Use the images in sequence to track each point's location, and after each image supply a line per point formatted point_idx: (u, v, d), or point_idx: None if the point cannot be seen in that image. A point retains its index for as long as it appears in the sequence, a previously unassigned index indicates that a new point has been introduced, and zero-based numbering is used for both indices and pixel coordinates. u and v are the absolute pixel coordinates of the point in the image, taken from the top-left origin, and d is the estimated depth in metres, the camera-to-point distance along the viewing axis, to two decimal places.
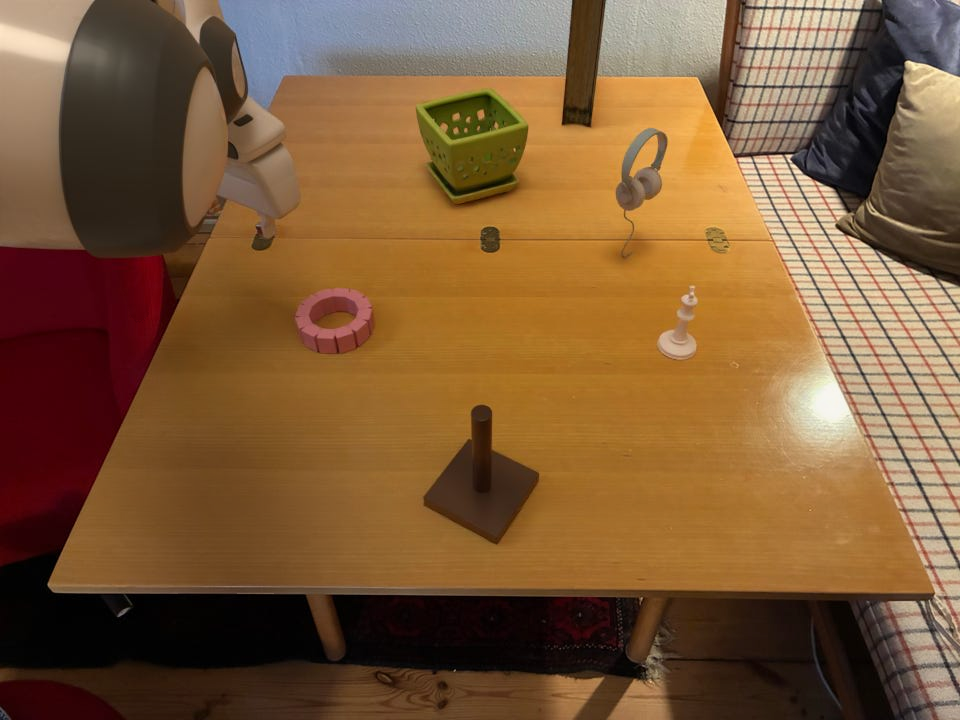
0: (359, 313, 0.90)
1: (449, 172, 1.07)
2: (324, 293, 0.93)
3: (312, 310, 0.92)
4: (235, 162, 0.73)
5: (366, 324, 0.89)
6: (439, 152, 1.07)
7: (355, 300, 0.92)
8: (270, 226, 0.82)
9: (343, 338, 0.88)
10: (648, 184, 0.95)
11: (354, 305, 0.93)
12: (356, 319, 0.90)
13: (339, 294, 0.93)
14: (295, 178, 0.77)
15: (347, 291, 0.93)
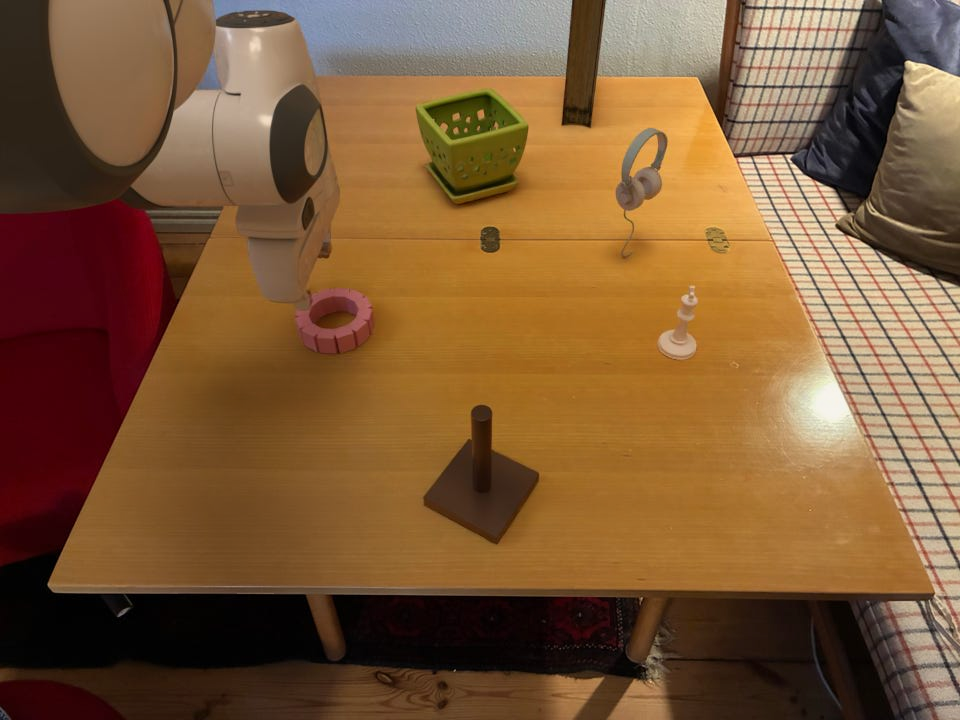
0: (359, 313, 0.90)
1: (449, 172, 1.07)
2: (324, 293, 0.93)
3: (312, 310, 0.92)
4: None
5: (366, 324, 0.89)
6: (439, 152, 1.07)
7: (355, 300, 0.92)
8: (300, 301, 0.77)
9: (343, 338, 0.88)
10: (648, 184, 0.95)
11: (354, 305, 0.93)
12: (356, 319, 0.90)
13: (339, 294, 0.93)
14: (290, 278, 0.69)
15: (347, 291, 0.93)
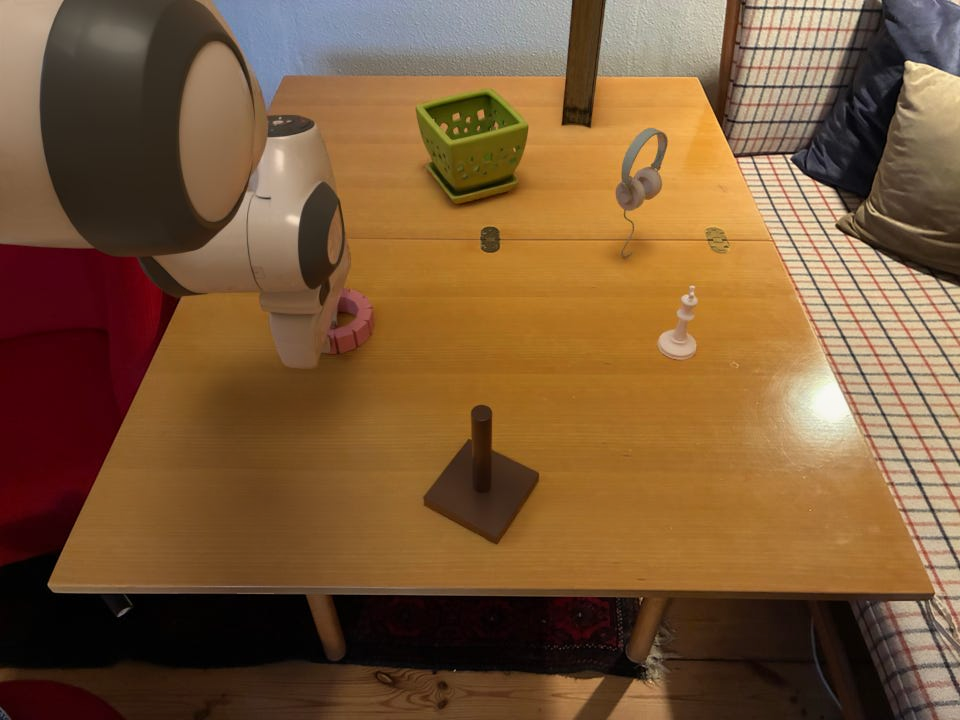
0: (359, 313, 0.90)
1: (449, 172, 1.07)
2: None
3: None
4: None
5: (366, 325, 0.89)
6: (439, 152, 1.07)
7: (355, 300, 0.92)
8: None
9: (343, 338, 0.88)
10: (648, 184, 0.95)
11: (354, 305, 0.93)
12: (356, 319, 0.90)
13: None
14: (308, 348, 0.76)
15: (347, 291, 0.93)
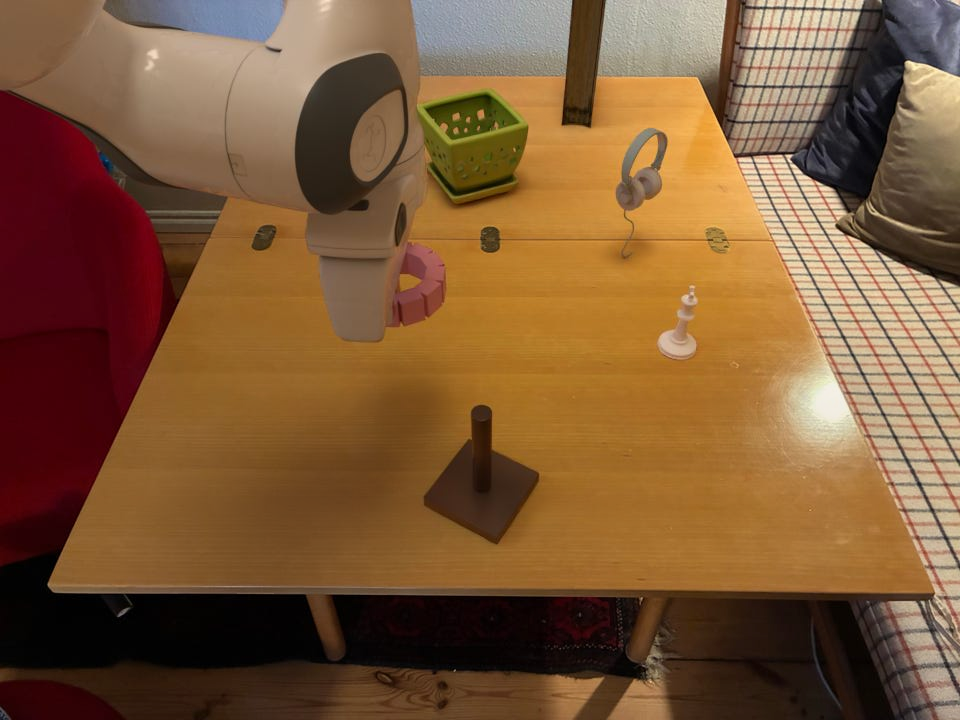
0: (428, 272, 0.66)
1: (449, 172, 1.07)
2: None
3: None
4: None
5: (439, 287, 0.65)
6: (439, 152, 1.07)
7: (421, 256, 0.68)
8: None
9: (410, 305, 0.63)
10: (648, 184, 0.95)
11: (419, 263, 0.68)
12: (425, 280, 0.65)
13: None
14: (375, 311, 0.51)
15: (408, 245, 0.69)
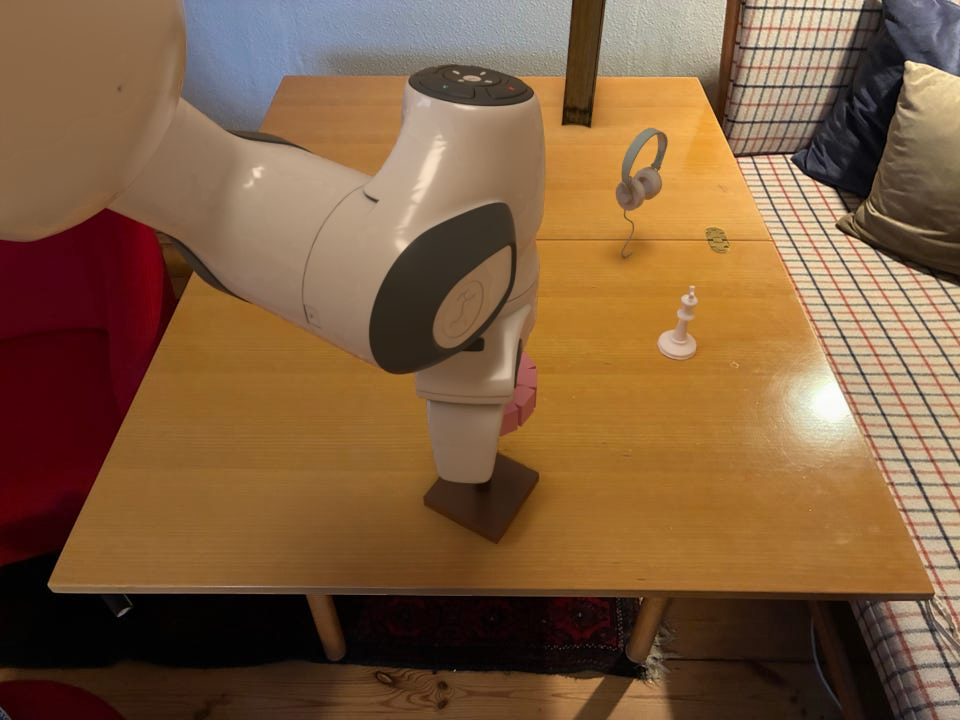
0: (520, 377, 0.61)
1: None
2: None
3: None
4: None
5: (533, 395, 0.60)
6: None
7: None
8: None
9: (504, 418, 0.58)
10: (648, 184, 0.95)
11: None
12: (518, 387, 0.60)
13: None
14: (487, 456, 0.46)
15: None
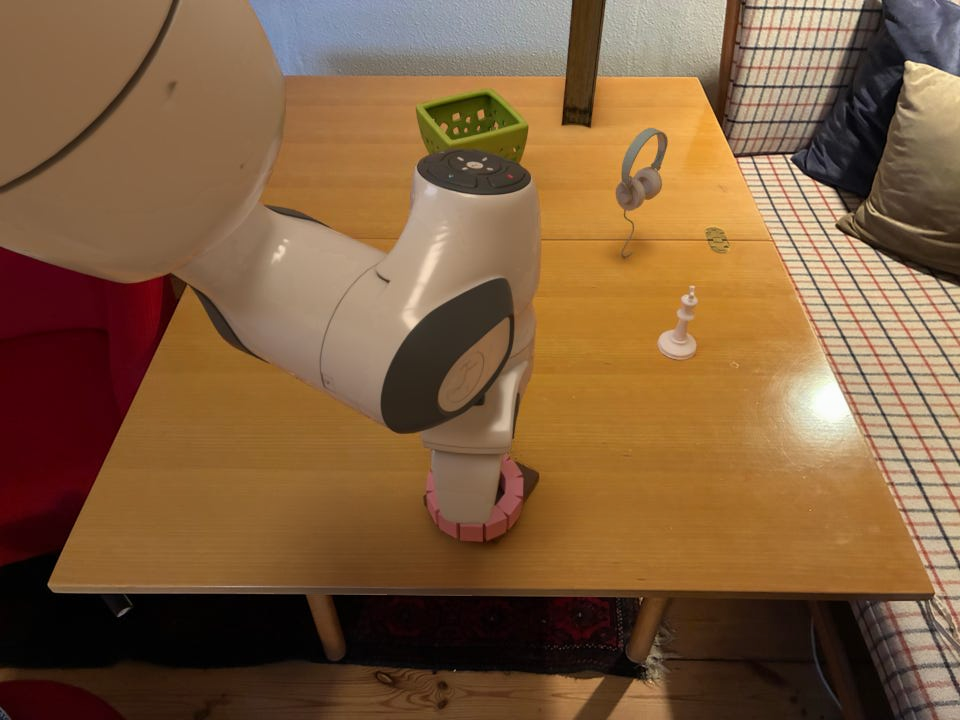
0: (508, 485, 0.70)
1: None
2: None
3: None
4: None
5: (520, 503, 0.69)
6: None
7: None
8: None
9: (494, 525, 0.67)
10: (648, 184, 0.95)
11: None
12: (506, 495, 0.69)
13: None
14: (487, 501, 0.50)
15: None
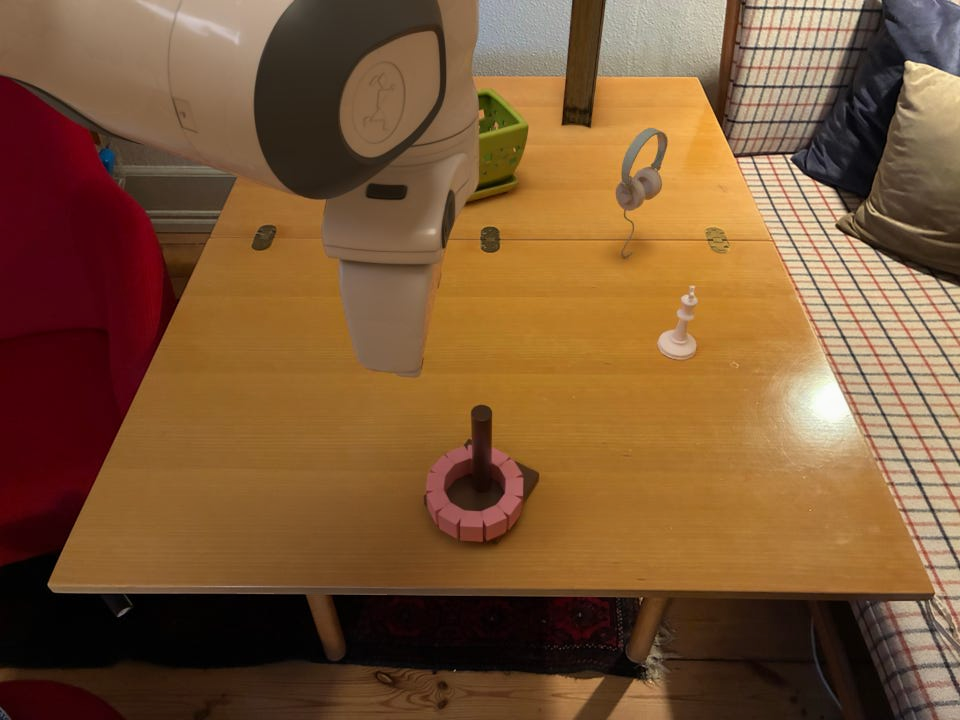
0: (508, 485, 0.70)
1: None
2: (457, 453, 0.73)
3: (445, 479, 0.71)
4: None
5: (520, 503, 0.69)
6: None
7: (499, 465, 0.72)
8: None
9: (494, 525, 0.67)
10: (648, 184, 0.95)
11: (497, 470, 0.72)
12: (506, 495, 0.69)
13: None
14: (412, 334, 0.39)
15: None
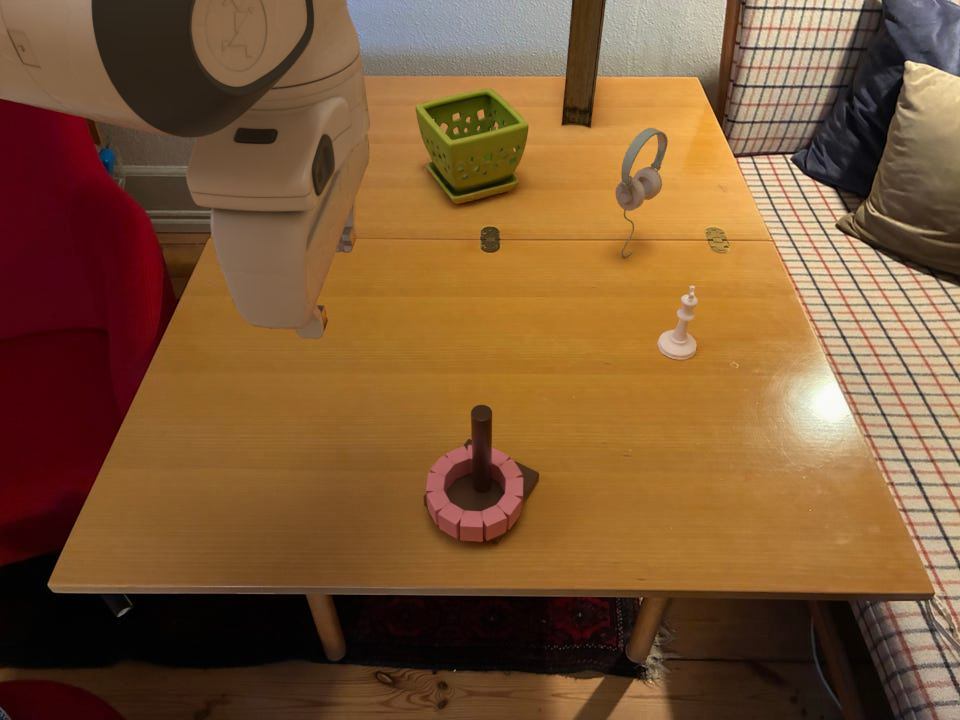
0: (508, 485, 0.70)
1: (449, 172, 1.07)
2: (457, 453, 0.73)
3: (445, 479, 0.71)
4: None
5: (520, 503, 0.69)
6: (439, 152, 1.07)
7: (499, 465, 0.72)
8: (308, 323, 0.46)
9: (494, 525, 0.67)
10: (648, 184, 0.95)
11: (497, 470, 0.72)
12: (506, 495, 0.69)
13: None
14: (291, 286, 0.37)
15: None
